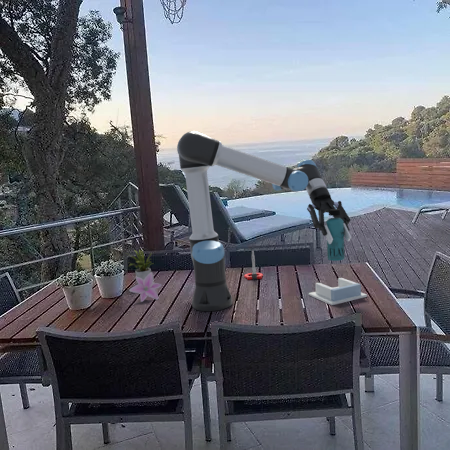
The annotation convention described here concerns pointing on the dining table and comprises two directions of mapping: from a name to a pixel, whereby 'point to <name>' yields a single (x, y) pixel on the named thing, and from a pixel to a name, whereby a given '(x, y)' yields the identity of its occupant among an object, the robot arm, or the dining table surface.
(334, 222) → the beverage bottle
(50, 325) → the dining table surface
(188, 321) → the dining table surface
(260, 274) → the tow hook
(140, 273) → the house plant
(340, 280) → the stop cradle
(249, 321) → the dining table surface
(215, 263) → the robot arm
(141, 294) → the lily
